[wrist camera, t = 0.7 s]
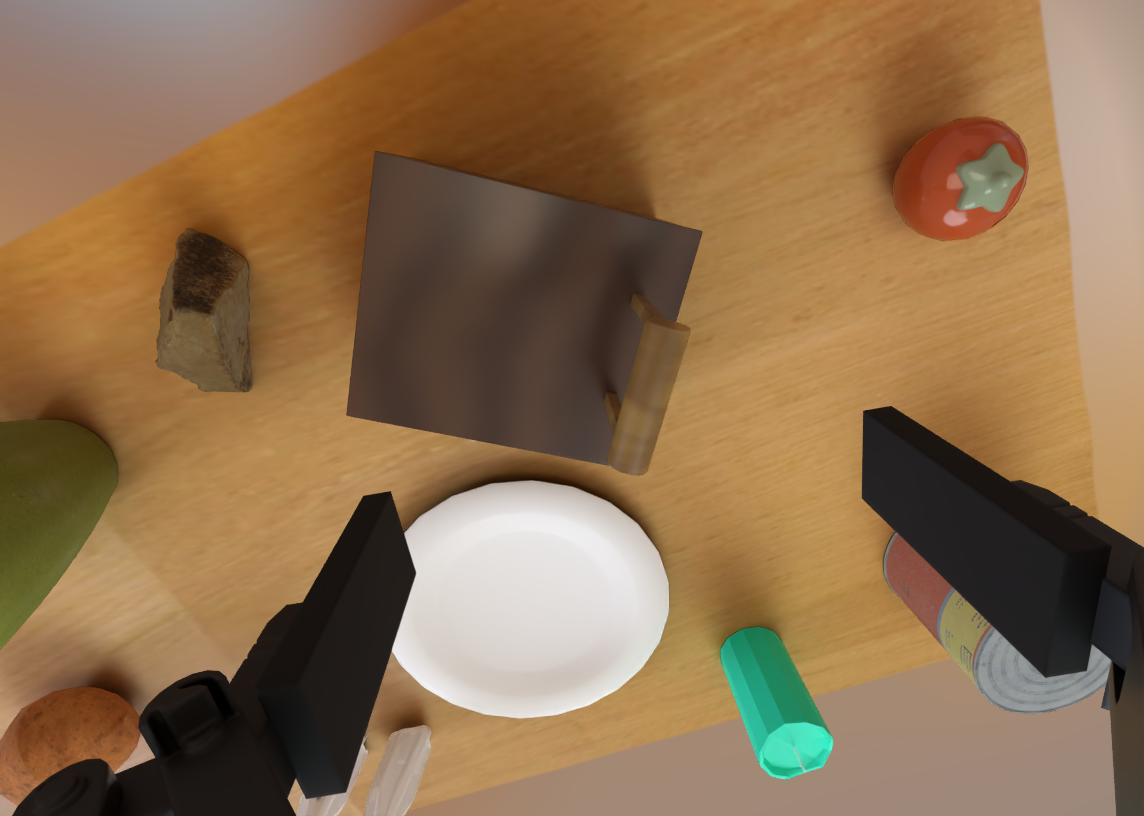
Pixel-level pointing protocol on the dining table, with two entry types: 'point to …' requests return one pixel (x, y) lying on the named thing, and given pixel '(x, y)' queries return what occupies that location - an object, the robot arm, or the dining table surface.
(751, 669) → the candle
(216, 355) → the rock
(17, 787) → the brown coconut
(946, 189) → the tomato
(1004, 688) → the canned food
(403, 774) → the shaker set
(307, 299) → the dining table surface
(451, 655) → the plate
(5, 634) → the flower pot
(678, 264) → the lid
